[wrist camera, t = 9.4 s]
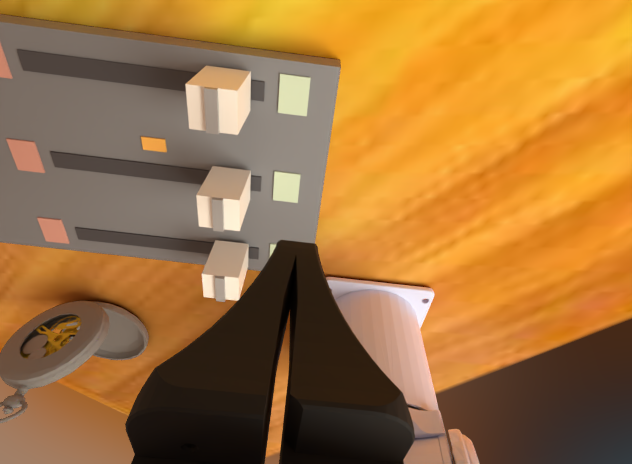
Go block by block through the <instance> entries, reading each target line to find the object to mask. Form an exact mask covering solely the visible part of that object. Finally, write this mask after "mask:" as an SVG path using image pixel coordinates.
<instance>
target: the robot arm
mask: <svg viewBox="0 0 632 464" xmlns="http://www.w3.org/2000/svg"><path fill="white" fill-rule="evenodd" d="M330 288H331V289H330ZM426 298H427V299H426ZM433 298H434V291H433V289H431V288H427V287H418V286H409V285H400V284H391V283H382V282H373V281H364V280H355V279H345V278H336V277H325V275H324V272H323V269H322V265H321V262H320V258H319V254H318V247H317V245H316V244H315V243H306V242H297V241H289V240H279V241H278V242H277V244H276V247H275V249H274V251H273V253H272V255H271V256H270V258H269V260H268V261H267V263H266V265H265V266H264V268H263V269H262V271H261V272H260V274H259V275H258V277H257V278H256V279H255V281H254V282H253V283H252V284H251V286H250V287H249V288H248V289H247V291H246V292H245V293H244V294H243V296H242V297H241V298H240V299H239V300H238V301H237V302H236V303H235V304H234V306H233V307H232V308H231V309H230V310H229V311H228V312H227V313H226V314H225V315H224V316H223V317H222V318H220V319H219V320H218V321H217V322H216V323H215V324H214V325H213V326H212V327H211V328H210V329H208V330H207V331H206V332H205V333H203V334H202V335H201V336H200V337H198V338H197V339H196V340H195V341H193V342H192V343H191V344H190V345H188V346H187V347H186V348H184V349H183V350H181V351H180V352H179V353H177V354H176V355H174V356H173V357H171V358H170V359H168V360H167V361H165V362H164V363H162V364H161V365H159V366H157V367H156V368H155V369H154V370H153V372H152V373H151V375H150V376H149V378H148V379H147V381H146V382H145V384H144V386H143V387H142V389H141V391H140V393H139V394H138V396H137V398H136V400H135V402H134V405H133V407H132V409H131V412H130V414H129V417H128V419H127V421H126V424H125V425H126V432H127V434H128V437H129V440H130V442H131V445H132V448H133V450H134V453H135V456H134V458H133V461H132V463H131V464H264V463H265V455H266V447H267V440H268V432H269V424H270V416H271V408H272V400H273V393H274V385H275V377H276V371H277V365H278V360H279V356H280V351H281V347H282V342H283V338H284V333H285V329H286V324H287V320H288V316H289V311H290V351H289V376H288V386H287V395H286V404H285V414H284V423H283V432H282V441H281V451H280V460H279V464H453V462H452V458H451V453H450V449H449V445H448V441H447V437H446V433H445V429H444V425H443V421H442V417H441V414H440V411H439V410H438V405H437V401H436V396H435V392H434V388H433V383H432V379H431V375H430V370H429V366H428V362H427V358H426V353H425V349H424V345H423V340H422V336H421V332H420V328H421V326H422V323H423V321H424V319H425V316H426V314H427V312H428V310H429V307H430V305H431V303H432V300H433ZM423 299H424V300H423ZM448 432H449V436H450V440H451V444H452V448H453V451H452V454H453V459H454V463H455V464H479V461H478V458H477V455H476V452H475V449H474V446H473V443H472V441H471V440H470V439H469V438H467V437H466V436H465V435H462V434H461V432H460V431H459V430H458V429H450V430H448Z"/></svg>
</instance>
